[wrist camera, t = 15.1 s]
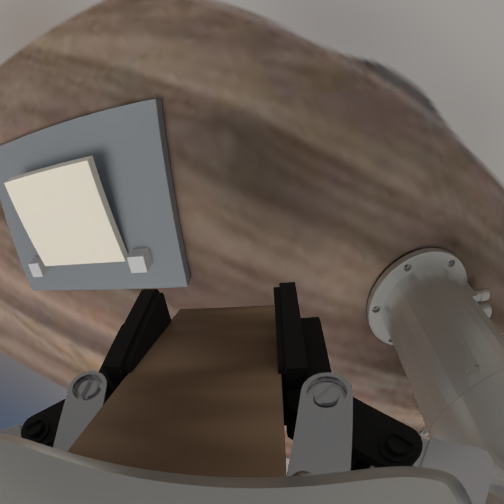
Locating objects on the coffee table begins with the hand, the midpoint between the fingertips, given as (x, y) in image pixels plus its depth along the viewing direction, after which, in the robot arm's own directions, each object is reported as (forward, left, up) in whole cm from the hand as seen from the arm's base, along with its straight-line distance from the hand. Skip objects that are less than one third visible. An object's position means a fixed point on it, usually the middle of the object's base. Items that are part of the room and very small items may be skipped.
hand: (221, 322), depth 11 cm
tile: (+16, 0, -13) cm, 21 cm away
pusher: (0, +2, -1) cm, 3 cm away
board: (+16, 0, -17) cm, 23 cm away
